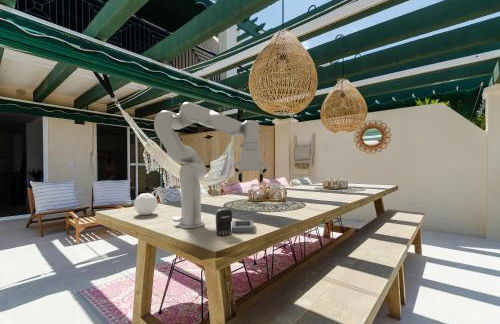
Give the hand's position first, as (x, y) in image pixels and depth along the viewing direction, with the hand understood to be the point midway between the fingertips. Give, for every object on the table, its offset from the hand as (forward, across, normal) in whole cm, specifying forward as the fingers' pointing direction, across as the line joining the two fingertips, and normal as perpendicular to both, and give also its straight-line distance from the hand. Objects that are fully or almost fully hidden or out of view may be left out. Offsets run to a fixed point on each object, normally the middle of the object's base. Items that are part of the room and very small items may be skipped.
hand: (250, 182), depth 125 cm
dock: (+22, -3, -2) cm, 22 cm away
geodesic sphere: (+23, -67, +23) cm, 75 cm away
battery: (+22, -10, -14) cm, 28 cm away
